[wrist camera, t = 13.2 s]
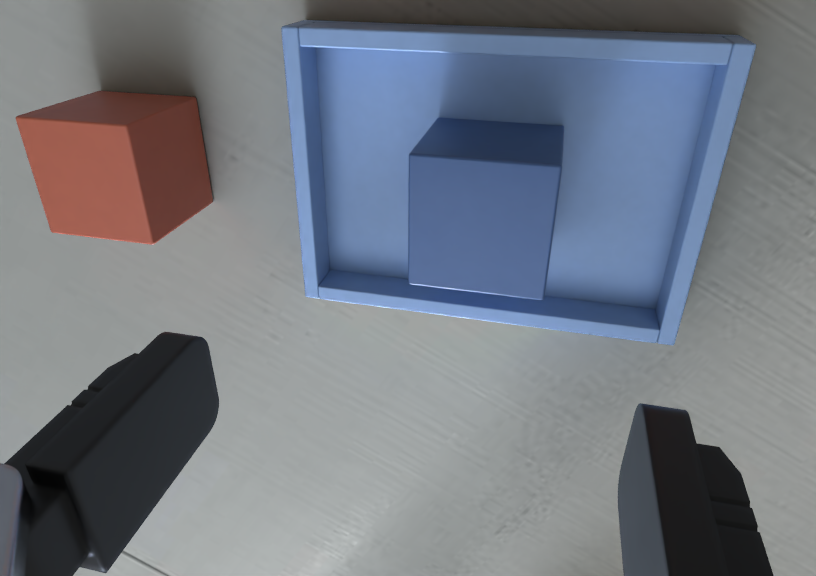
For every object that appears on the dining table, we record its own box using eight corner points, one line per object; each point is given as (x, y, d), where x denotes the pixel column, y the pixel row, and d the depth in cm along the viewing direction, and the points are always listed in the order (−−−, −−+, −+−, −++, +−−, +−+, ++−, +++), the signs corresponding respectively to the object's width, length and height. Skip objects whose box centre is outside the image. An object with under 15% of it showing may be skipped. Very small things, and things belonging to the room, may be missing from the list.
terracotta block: (123, 192, 27) (50, 233, 23) (99, 90, 24) (13, 116, 21) (213, 202, 26) (153, 245, 22) (196, 96, 24) (126, 125, 20)
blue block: (433, 230, 23) (407, 284, 20) (436, 116, 21) (407, 153, 18) (549, 242, 23) (543, 301, 19) (564, 124, 20) (562, 165, 17)
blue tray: (322, 274, 26) (304, 297, 25) (303, 19, 21) (280, 26, 20) (667, 317, 23) (674, 346, 22) (740, 35, 18) (757, 43, 17)
